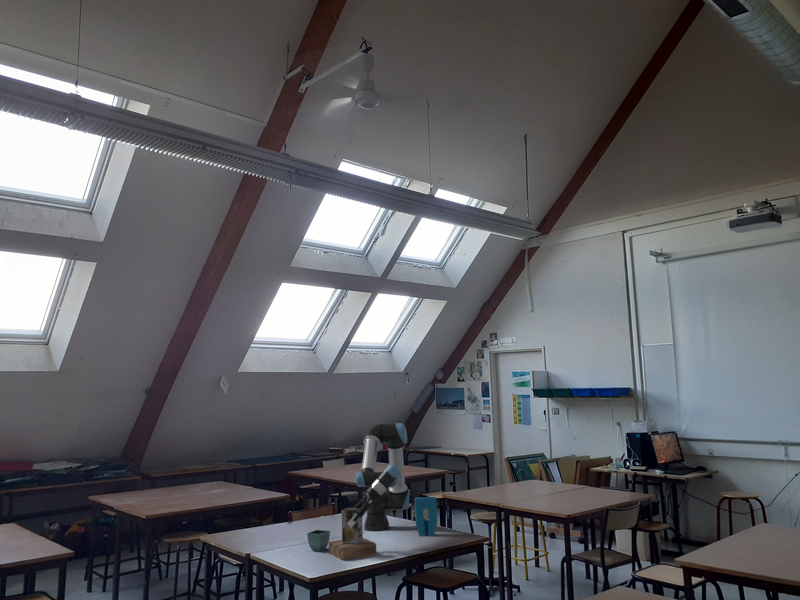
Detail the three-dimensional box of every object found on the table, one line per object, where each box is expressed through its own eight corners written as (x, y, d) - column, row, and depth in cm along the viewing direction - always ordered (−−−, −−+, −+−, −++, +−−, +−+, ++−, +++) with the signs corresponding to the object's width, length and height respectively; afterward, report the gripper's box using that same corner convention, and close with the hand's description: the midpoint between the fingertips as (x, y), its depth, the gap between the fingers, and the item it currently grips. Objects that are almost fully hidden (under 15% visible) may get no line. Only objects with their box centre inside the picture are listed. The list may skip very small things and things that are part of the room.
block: (437, 533, 335) (435, 497, 339) (437, 535, 330) (435, 498, 334) (416, 534, 336) (415, 497, 340) (416, 536, 331) (414, 499, 335)
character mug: (431, 528, 350) (430, 505, 352) (430, 531, 343) (429, 507, 345) (412, 529, 351) (412, 506, 353) (412, 531, 344) (411, 508, 346)
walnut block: (328, 554, 299) (328, 541, 300) (361, 549, 308) (361, 537, 309) (342, 561, 284) (342, 548, 285) (376, 556, 292) (376, 543, 293)
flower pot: (320, 552, 301) (320, 534, 302) (306, 551, 305) (306, 532, 307) (330, 548, 308) (330, 530, 310) (317, 547, 313) (317, 529, 314)
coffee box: (363, 541, 298) (362, 508, 301) (358, 544, 292) (357, 510, 295) (346, 540, 301) (346, 507, 304) (341, 543, 295) (341, 509, 298)
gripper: (385, 499, 292) (355, 533, 286) (377, 492, 316) (350, 523, 310) (374, 488, 292) (344, 522, 286) (367, 482, 316) (339, 514, 310)
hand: (347, 523), depth 298 cm, fingers open, 13 cm apart
